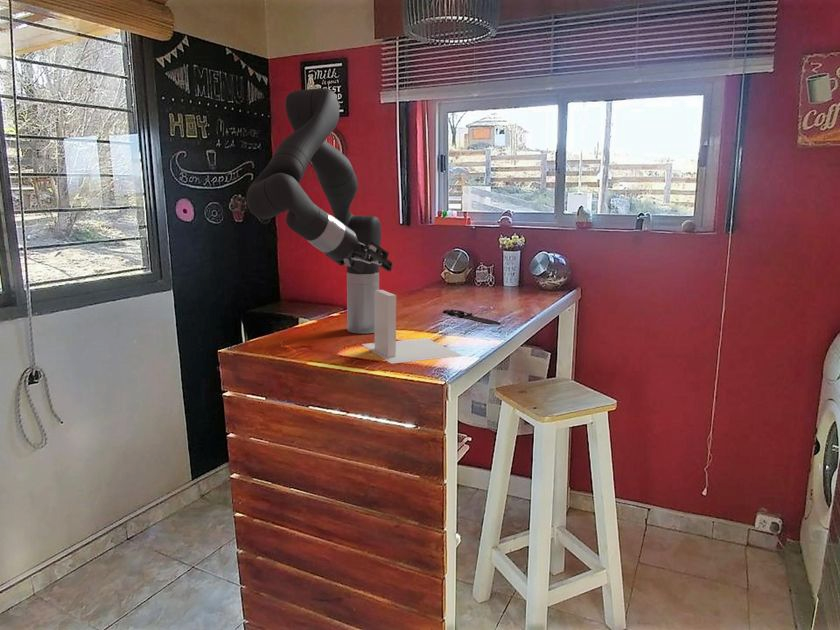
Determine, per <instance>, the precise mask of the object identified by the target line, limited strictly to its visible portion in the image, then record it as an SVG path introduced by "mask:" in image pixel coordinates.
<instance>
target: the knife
mask: <svg viewBox="0 0 840 630" xmlns="http://www.w3.org/2000/svg"><path fill="white" fill-rule="evenodd" d="M442 313H443V314H447V315H448V316H452V317H455V316H457V318H458V319H459V318H460V319H469V320H474V321H478V322H483V323H485V324H494V325H496V324H498V325H501V323H500V322H499V321H497V320H494V319H493V320H492V319H488V318H483V317H480V316H479V317H478V316H474V315H473V314H474V313H473V312H466V311H463V310H457V309H452V308H451V309H444V310H442Z"/></svg>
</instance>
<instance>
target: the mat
mask: <svg viewBox="0 0 840 630" xmlns="http://www.w3.org/2000/svg"><path fill="white" fill-rule="evenodd" d="M361 345H362V347H365V348H366V349H368V350H370V351H371V352H372V353H374V354H376V355H377V356H378V357H381V358H382V359H383V360H385V362H387V363H389V364H392V365H393V364H400V363H401V364H402V363H410V362H419V361H420V362H421V361H428V360H437V359H439V360H440V359H446V358H456V357H463V355H462V354H460V353H458V352H456V351H454V350H452V349H450V348H448V347H446V346H444V345H442V344H440V343H438V342H436V341H433V340H432V339H430V338H428V337H423V338H422V337H421V338H413V339H402V340H401V339H400V340H396V356H394V357H387V356H385V355H384V354H382V353H381V352H379V351H378V350H376V349H375V342H371V343H370V342H369V343H361Z"/></svg>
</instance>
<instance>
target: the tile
mask: <svg viewBox="0 0 840 630" xmlns="http://www.w3.org/2000/svg"><path fill="white" fill-rule="evenodd" d="M396 335H397V294H394V293H391V292H389V291H386V290H384V289H379V290H375V333H374V343H375V349H376V350H378V351H379V352H381V353H382V354H384V355H385V356H387V357H394V356H396V341H397V339H396V337H397V336H396Z"/></svg>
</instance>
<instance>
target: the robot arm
mask: <svg viewBox="0 0 840 630" xmlns="http://www.w3.org/2000/svg"><path fill="white" fill-rule="evenodd" d="M284 102H285V112H286V115H287V119H288V121H289V124H290V126H291V128H292V130H293V132H292V133H290V134H289V135H288V136H286V137H285V138H284V139H283V140H282V141H281V142H280V144H279V145H278V146H277V147H276V149H275V151H274V152H273V154H272V157H271V159H270V161H269V163H268V164H267V166H266V167H265V168H264V169H263V170H262V171H261V172H260V173H259V174H258V176H257V177H256V178H255V179H254V180H253V181H252V183H251V184H250V185H249V187H248V189H247V193H246V205H247V208H248V210H249V212H250V213H251V214H252V215H253V216H254V217H256V218H259V219H262V220H268V219H272V218H274V217H277V216H278V215H281V214H282V213H285V212H286V211H287V213H286V216H285V223H286V225H287V227H288V228H289V229H290V230H291V231H292V232H294V233H295V234H297V235H299V236H300V237H301V238H303V239H304V240H305V241H307V242H308V243H309V244H311V245H312V246H313V247H314V248H316V249H317V250H319V251H320V252H321V253H323V254H325V256H326V257H327V258H329V259H330V260H332V261H333V262H335V263H336V264H338V265H339V266H340V267H341V266H342V267H343V266H346V295H347V296H346V306H347V307H346V310H347V311H346V312H347V314H346V316H347V319H346V323H347V325H346V328H347V329H346V331H347V332H348V333H353V334H358V335H359V334H360V335H361V334H362V335H366V334H367V335H368V334H375V290H380V268H381V269H383V270H385V271H386V272H391V271H392V268H393V265H394V263H393V262H392V261H390V260H389V259H388V257H389V255H390V252H388V251H387V250H385V249H384V248H382V247H381V246H382V245H381V241H382V225H381V220H380V219H379V218H378V216H374V215H373V216H372V215H354V214H353V213H352V212H351V210H350V208H351V205H352V203H353V201H354V199H355V197H356V195H357V191H358V187H359V183H358V179H357V175H356V173H355V170H354V168H353V166H352V164H351V162H350V160H349V159H348V157H347V156H346V155H345V154H344V153H342V152H341V151H340V150H338V149H337V148H336V147H335V146H333V145H332V144H331V143H329V142H328V141H327V139H328V137H330V135H331V134H332V133H333V131H334V130H335V128H336V127H337V125H338V122H339V119H340V105H339V101H338V98H337V95H336V94H335V92H334V91H333V90H332V89H330V88H325V87H324V88H323V87H322V88H320V87H319V88H317V87H316V88H308V89H297V90H293V91H291V92H289V93H287V96H286V97H285V101H284ZM309 163H311V166H312V167H313V170H314V172H315V175H316V178H317V180H318V183H319V184H320V187H321V189H322V191H323V194H324V195H325V197H326V200H327V202H328V205H329V206H330V209H331V211H332V214H333V215H332V214H330V213H328V212H326V211H324V210H323V209H322V208H320V207H319V206H318V205H317V204H316V203H314V202H313V201H312V200H311V199H310V197H309V196H308V194H307V192H305V190H304V189H303V187H301V186H302V185H300V182H301V181H302V179H303V177H304V175H305V172H306V171H307V169H308V166H309Z"/></svg>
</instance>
